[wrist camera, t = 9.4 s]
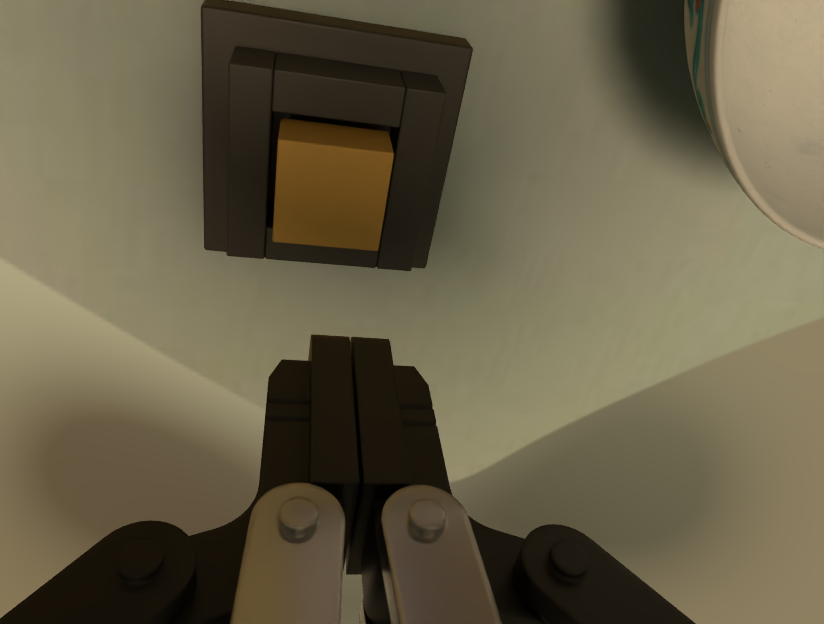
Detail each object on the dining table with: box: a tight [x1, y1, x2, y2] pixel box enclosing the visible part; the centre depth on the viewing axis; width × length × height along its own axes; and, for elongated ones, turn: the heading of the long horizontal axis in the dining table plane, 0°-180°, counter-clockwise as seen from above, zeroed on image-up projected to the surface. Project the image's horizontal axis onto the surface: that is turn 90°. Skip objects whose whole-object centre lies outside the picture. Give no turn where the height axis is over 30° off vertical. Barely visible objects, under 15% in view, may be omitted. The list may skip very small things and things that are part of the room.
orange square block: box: [272, 118, 394, 251], centre depth 19 cm, size 3×3×2 cm
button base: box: [201, 0, 473, 271], centre depth 21 cm, size 8×8×3 cm
